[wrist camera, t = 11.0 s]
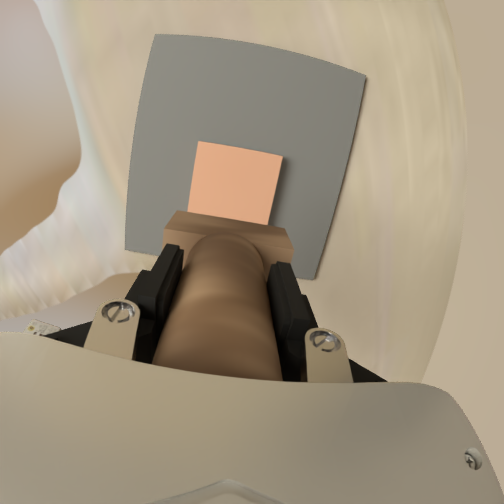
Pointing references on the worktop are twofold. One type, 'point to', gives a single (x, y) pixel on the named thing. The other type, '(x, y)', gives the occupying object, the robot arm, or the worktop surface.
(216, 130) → the mat
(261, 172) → the tile
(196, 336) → the wooden rubber stamp
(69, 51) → the worktop surface
